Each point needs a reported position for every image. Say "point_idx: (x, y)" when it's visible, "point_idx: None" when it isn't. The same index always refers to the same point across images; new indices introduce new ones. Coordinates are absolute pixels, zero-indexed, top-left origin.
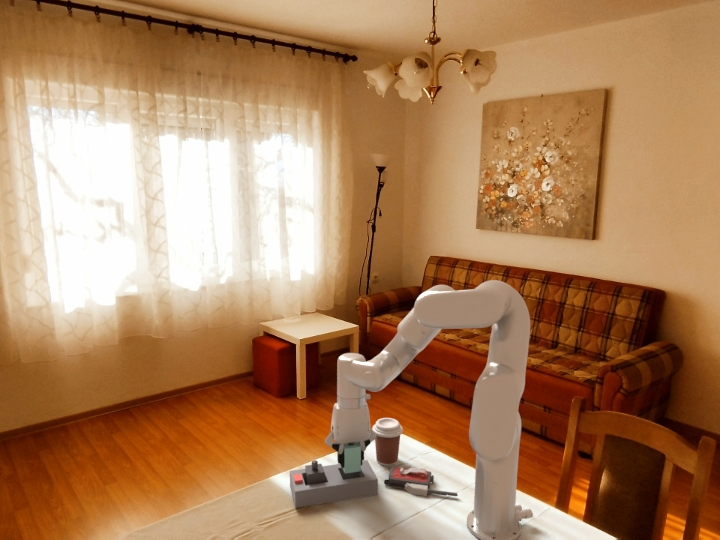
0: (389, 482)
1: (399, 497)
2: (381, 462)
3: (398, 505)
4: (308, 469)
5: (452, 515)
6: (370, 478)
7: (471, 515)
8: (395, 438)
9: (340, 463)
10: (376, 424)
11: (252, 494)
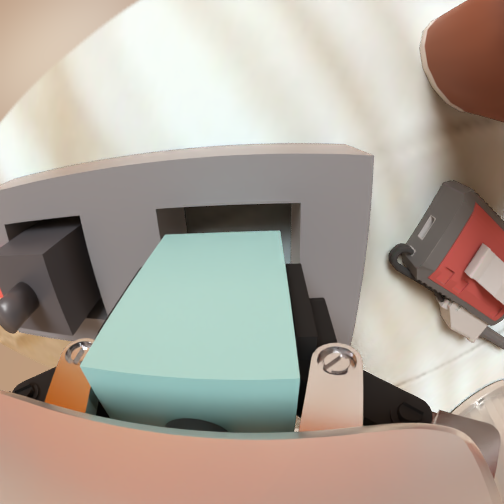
0: (407, 273)
1: (397, 326)
2: (439, 88)
3: (372, 358)
4: (6, 292)
5: (453, 391)
6: None
7: (471, 407)
8: None
9: None
10: None
11: None
